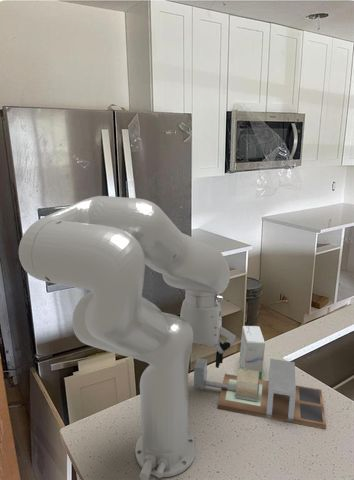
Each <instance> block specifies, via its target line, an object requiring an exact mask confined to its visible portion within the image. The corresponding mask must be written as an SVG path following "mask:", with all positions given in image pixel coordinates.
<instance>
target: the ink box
mask: <svg viewBox="0 0 354 480" xmlns="http://www.w3.org/2000/svg"><path fill="white" fill-rule="evenodd" d="M241 328H242V331H241V339H240V348H239V349H240V350H239V364H240V368H242V369H248V370H254V371H259V379H260V380H262V376H263V366H264V359H265V358H264V357H265V347H266V342H265V339H264V336H263V333H262V330H261V328H260V326H259V325H258V326H257V325H243V326H242V327H241Z"/></svg>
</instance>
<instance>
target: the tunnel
mask: <svg viewBox="0 0 354 480" xmlns="http://www.w3.org/2000/svg"><path fill="white" fill-rule="evenodd" d="M295 362H296V361H295ZM295 362H294V361H287V360H283V359H282V360H281V359H276V358H270V359H269V372H268V381H269V383H268V384H269V387H268V400H267V414H268V415H267V414H266V419H270V420H272V419H271V418H272V416H269V414H271V415H272V406H273V394H274V393H276V394H282V395H288V396H290V398H289V408H288V418H289V419H288V421H289V422H288V423H292V421H293V418H294V408H295V398H296V386H297V385H296V364H295ZM267 416H268V417H267ZM270 417H271V418H270ZM290 418H292V419H290ZM292 424H293V423H292Z"/></svg>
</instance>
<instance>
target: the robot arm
mask: <svg viewBox="0 0 354 480" xmlns="http://www.w3.org/2000/svg"><path fill="white" fill-rule="evenodd" d="M18 259H19V262H20V265H21V267H22V268H23V269H24V271H25V272H26V273H27V274H28V275H29V276H31V277H32V278H34V279H36V280H39V281H41V282H42V281H43V282H47V283H50V284H56V285H62V286H65V287H72V288H74V289H75V288H76V289H81V290H85V291H89V292H87V293H86V294H85V295H83V296H82V297H81V298H80V299H79V300H78V302H77V304H76V305H75V306H74V307H75V308H74V309H73V313H72V328H73V329H72V330H73V332H74V335H75V336H76V338H77V339H78V340H79V341H80V342H81V343H83V344H85V345H87V346H90V347H93V348H96V349H99V350H103V351H106V352H109V353H113V354H116V355H120V356H123V357H128V358H132V359H135V360H138V361H141V362H145V363H147V364H149V365H148V366H147V367H146V368H145V369H144V371H143V372H142V374H141V376H140V380H139V395H140V397H139V398H140V399H139V400H140V416H141V417H140V419H141V434H140V435H139V437H138V439H137V440H136V443H135V450H134V452H135V459H136V462H137V463H138V465H139V467H140V468H141V471H140V473H139V475H138V476H139V479H140V480H149V479H150V476H151V475H152V476H154V477H157V478H158V479H161V478H169V477H170V478H171V477H174V476H177V475H179V474H181V473H183V472H184V471H186V470H187V469H188V468H189V467H190V466H191V465H192V463H193V462H194V460H195V456H196V442H195V440H194V438H193V436H192V434H191V433H190V432H189V366H190V359H191V355H192V354H191V353H192V348H193V343H194V344H199V345H200V344H201V345H206V346H213V347H214V348H215V350H216V353H215V368H217V369H219V367H220V366H221V364H223V363H224V362H223V361H224V352H225V351H227V350H228V349H230V348H231V345H232V344H233V343H234V341H235V339H236V338H237V337H236V335H235V334H234V333H232V332H231V331H229V330H228V329H226V328H225V327H223V326H222V308H221V303H220V302H223V300H224V295H220V294H222V293H224V291H226V290H227V288H228V285H229V283H230V280H231V270H230V266H229V263H228V260H227V259H226V257H225V256H224V254H223V253H222V252H221V251H219V249H217V248H215V247H213V246H211V245H210V244H207V243H205V242H203V241H201V240H198V239H196V238H195V237H193V236H190V235H188V234H186V233H183V232H182V231H181V230H180V229H179V228H178V227H177V226H176V225H175V224H174V222H173V221H172V220H171V218H170V217H169V216H167V214H166V213H165V211H164V210H162V209H161V207H160V206H158V205H157V204H156V203H154V202H152V201H150V200H147V199H143V198H137V197H136V198H135V197H122V196H109V195H95V196H91V197H88V198H85V199H82V200H80V201H78V202H75V203H72V204H71V205H68V206H65V207H64V208H61V209H59V210H57V211H54V212H53V213H50V214H48V215H45V216H43V217H42V218H39V219H38V220H36V221H35V222H33V223H32V224H31V225H30V226H29V227H28V228H27V229H26V230H25V232H24V233H23V235H22V237H21V240H20V241H19V245H18ZM146 266H147V267H148V268H149V269H151V270H153V271H154V272H156V273H159V274H161V275H162V278H163V281H164V282H165V283H166V284H167V285H168V286H170V287H171V288H175V289H176V288H177V289H180V290H185V296H184V297H185V299H183V301H182V305H181V309H180V316H178V315H175V314H172V313H167V312H162V310H161V309H160V308H159V307H158V306H157V305H156V304H155V303H153V302H151V301H150V300H148V299H147V298H145V297H144V296H142V295H143V288H144V282H145V273H146V272H145V271H146ZM222 336H223V337H225V338H226V339H227V340H226V341H224V342H223V341H222V340H221V338H222Z"/></svg>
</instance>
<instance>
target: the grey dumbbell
mask: <svg viewBox="0 0 354 480" xmlns="http://www.w3.org/2000/svg"><path fill="white" fill-rule="evenodd" d="M207 370H208V359H207V358H206V359H205V358H199V357H197V358H196V361H195V364H194V366H193V388H195V389H202V390H204V389H205V386H206V387H211V388H217V389H221V388H222V389H227V390H233V391H236V392H235V398H241V399H246V400H252V401H257V402H258V392H259V383H258V379H259V371H254V370H248V369H242V368H241V367H239V368H238V372H237V375H236V376H237V384H236V386H234V385H228V384H223V382H222V383H221V382H215V381H210V380H207V378H208V377H207V376H208V375H207V374H208V371H207Z"/></svg>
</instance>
